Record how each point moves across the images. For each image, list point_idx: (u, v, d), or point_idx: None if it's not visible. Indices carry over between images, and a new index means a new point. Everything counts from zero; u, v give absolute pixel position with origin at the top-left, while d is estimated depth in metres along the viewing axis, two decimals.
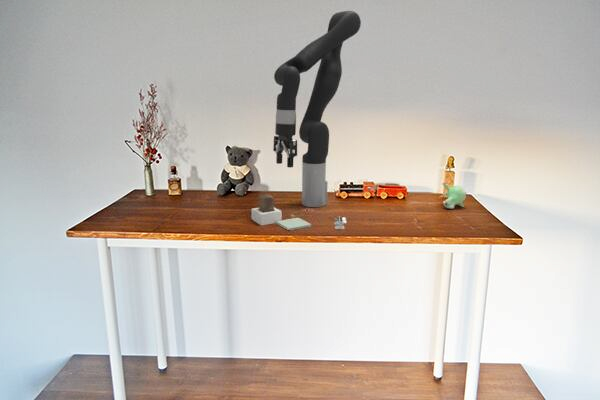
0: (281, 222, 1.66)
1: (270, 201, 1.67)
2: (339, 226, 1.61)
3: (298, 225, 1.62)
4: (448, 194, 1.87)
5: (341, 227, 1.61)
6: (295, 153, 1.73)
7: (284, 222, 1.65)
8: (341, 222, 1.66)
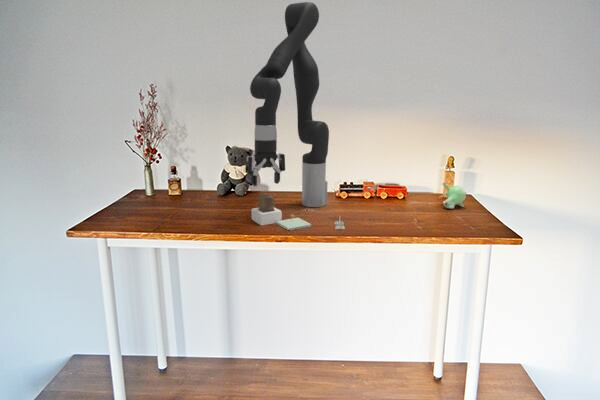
0: (281, 222, 1.66)
1: (270, 201, 1.67)
2: (339, 226, 1.61)
3: (298, 225, 1.62)
4: (448, 194, 1.87)
5: (341, 227, 1.61)
6: (282, 166, 1.69)
7: (284, 222, 1.65)
8: (341, 222, 1.66)
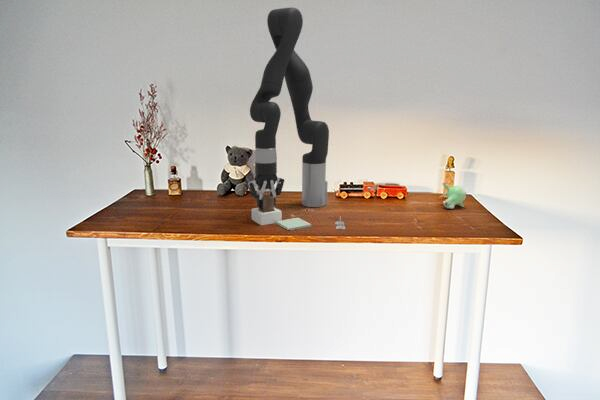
0: (281, 222, 1.66)
1: (270, 200, 1.67)
2: (340, 226, 1.61)
3: (298, 225, 1.62)
4: (448, 194, 1.87)
5: (342, 227, 1.61)
6: (277, 191, 1.70)
7: (284, 222, 1.65)
8: (342, 222, 1.66)
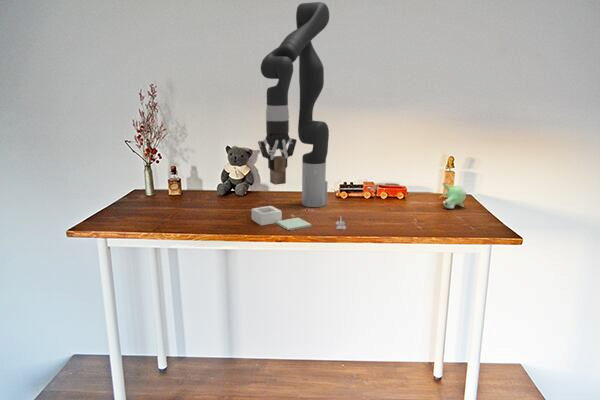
0: (281, 222, 1.66)
1: (281, 161, 1.61)
2: (340, 226, 1.61)
3: (298, 225, 1.62)
4: (448, 194, 1.87)
5: (342, 227, 1.61)
6: (289, 152, 1.64)
7: (284, 222, 1.65)
8: (342, 222, 1.66)
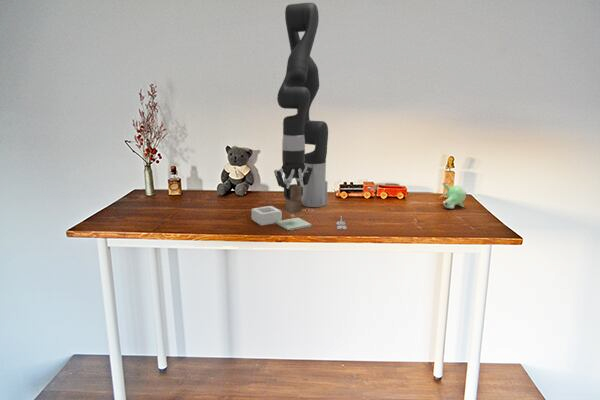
0: (281, 222, 1.66)
1: (297, 190, 1.61)
2: (341, 226, 1.61)
3: (298, 225, 1.62)
4: (448, 194, 1.87)
5: (343, 227, 1.61)
6: None
7: (284, 222, 1.65)
8: (343, 222, 1.66)
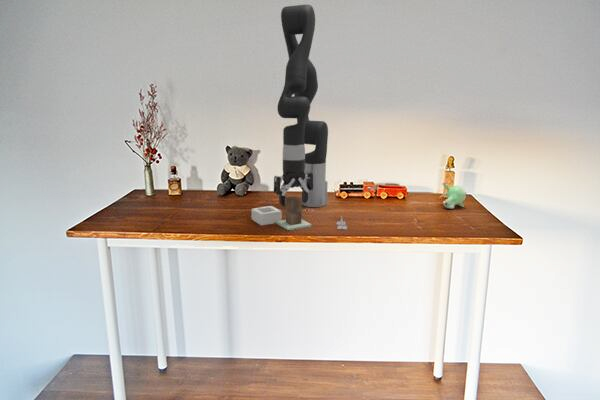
0: (281, 222, 1.66)
1: (298, 202, 1.62)
2: (341, 226, 1.61)
3: (298, 225, 1.62)
4: (448, 194, 1.87)
5: (343, 227, 1.61)
6: (309, 185, 1.66)
7: (284, 222, 1.65)
8: (343, 222, 1.66)
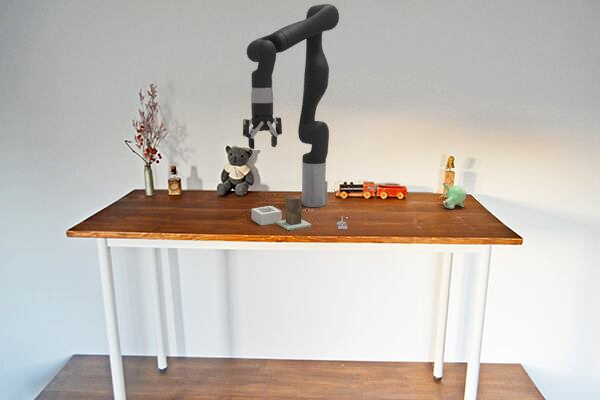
0: (281, 222, 1.66)
1: (298, 202, 1.62)
2: (342, 226, 1.61)
3: (298, 225, 1.62)
4: (448, 194, 1.87)
5: (344, 227, 1.61)
6: None
7: (284, 222, 1.65)
8: (344, 222, 1.66)
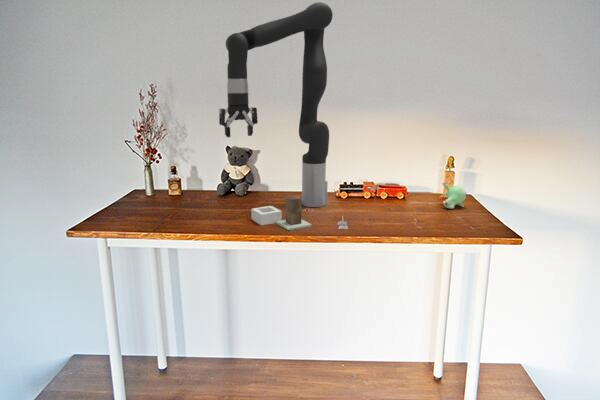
0: (281, 222, 1.66)
1: (298, 202, 1.62)
2: (342, 226, 1.61)
3: (298, 225, 1.62)
4: (448, 194, 1.87)
5: (344, 227, 1.61)
6: None
7: (284, 222, 1.65)
8: (344, 222, 1.66)
